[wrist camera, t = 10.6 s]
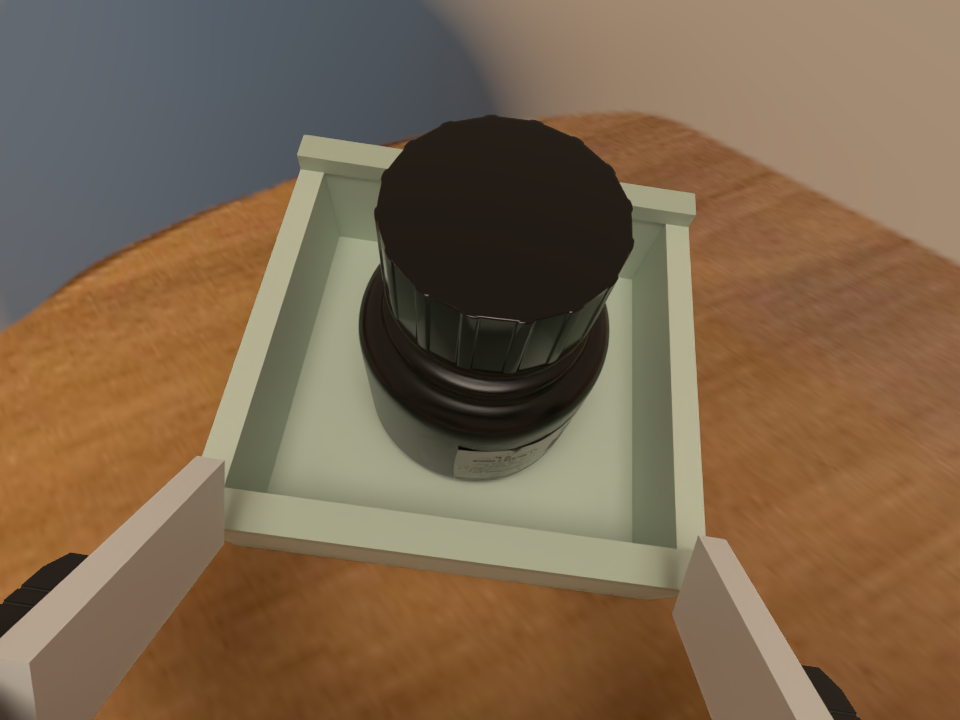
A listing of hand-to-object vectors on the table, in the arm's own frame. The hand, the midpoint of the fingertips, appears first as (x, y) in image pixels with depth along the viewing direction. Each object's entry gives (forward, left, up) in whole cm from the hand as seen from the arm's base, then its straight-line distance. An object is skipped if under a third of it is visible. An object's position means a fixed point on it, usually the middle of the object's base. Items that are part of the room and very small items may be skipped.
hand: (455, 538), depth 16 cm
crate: (0, -8, -8) cm, 11 cm away
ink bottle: (0, -8, -7) cm, 11 cm away
